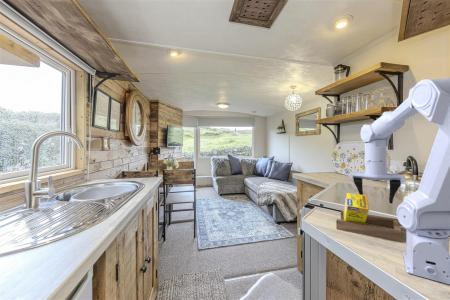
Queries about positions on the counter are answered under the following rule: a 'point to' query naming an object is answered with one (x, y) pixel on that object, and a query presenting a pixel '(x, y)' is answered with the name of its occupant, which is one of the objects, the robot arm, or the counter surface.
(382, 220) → the brown wooden tray
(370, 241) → the counter surface
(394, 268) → the counter surface
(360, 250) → the counter surface
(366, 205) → the supplement box
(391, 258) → the counter surface
